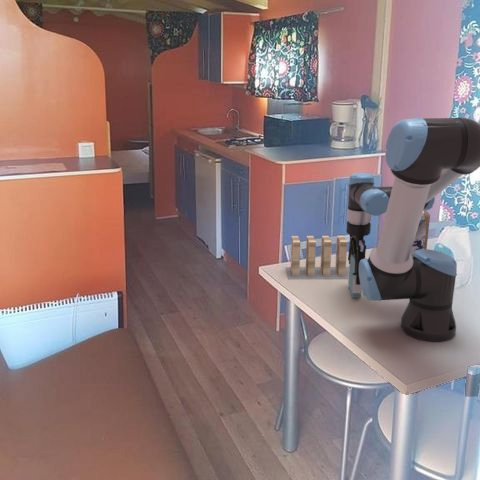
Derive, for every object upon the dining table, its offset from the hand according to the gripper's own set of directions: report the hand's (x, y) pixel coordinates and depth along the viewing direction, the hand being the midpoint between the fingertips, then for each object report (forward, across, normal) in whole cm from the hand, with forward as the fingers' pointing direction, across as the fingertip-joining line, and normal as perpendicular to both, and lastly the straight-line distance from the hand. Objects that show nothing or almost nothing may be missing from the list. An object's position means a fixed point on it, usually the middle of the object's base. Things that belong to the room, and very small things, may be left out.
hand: (354, 287), depth 186 cm
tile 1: (+2, +18, +18) cm, 26 cm away
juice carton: (+2, +6, -19) cm, 20 cm away
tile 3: (+2, +18, +7) cm, 19 cm away
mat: (+2, +18, +5) cm, 19 cm away
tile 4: (+2, +18, +2) cm, 18 cm away
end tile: (+2, 0, 0) cm, 2 cm away
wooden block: (+2, +32, -28) cm, 43 cm away
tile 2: (+2, +18, +12) cm, 22 cm away
